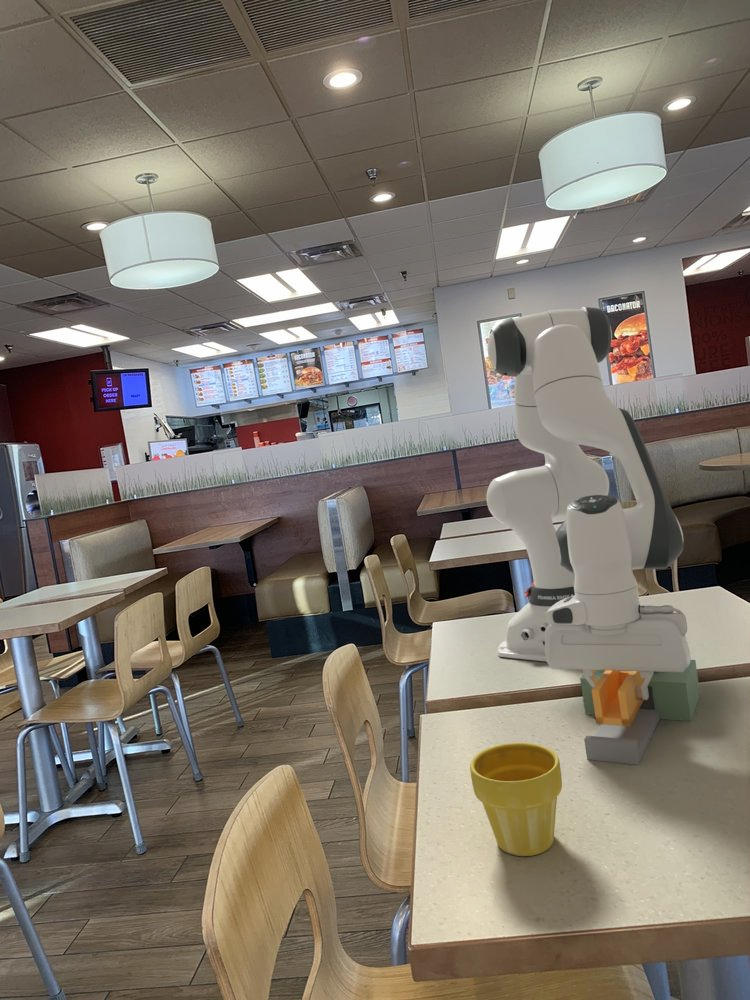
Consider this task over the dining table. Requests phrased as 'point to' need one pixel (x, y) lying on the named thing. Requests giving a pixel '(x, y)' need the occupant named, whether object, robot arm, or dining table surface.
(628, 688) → the chute
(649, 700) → the green coffee machine
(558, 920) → the dining table surface
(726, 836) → the dining table surface
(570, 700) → the dining table surface
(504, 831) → the plant pot
